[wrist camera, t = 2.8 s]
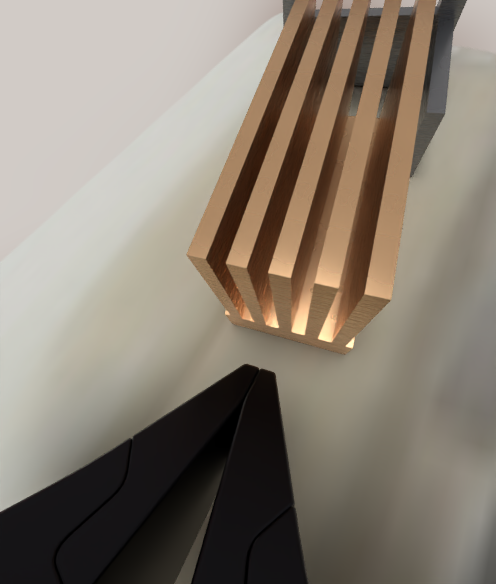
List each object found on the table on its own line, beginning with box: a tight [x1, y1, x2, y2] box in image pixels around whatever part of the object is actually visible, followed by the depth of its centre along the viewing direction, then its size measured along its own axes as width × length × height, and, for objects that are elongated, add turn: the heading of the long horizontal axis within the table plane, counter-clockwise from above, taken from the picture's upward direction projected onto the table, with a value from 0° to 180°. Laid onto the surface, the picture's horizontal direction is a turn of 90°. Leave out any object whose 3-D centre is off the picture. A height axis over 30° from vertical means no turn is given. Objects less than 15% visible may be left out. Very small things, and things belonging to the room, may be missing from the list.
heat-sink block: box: [187, 0, 436, 355], centre depth 13 cm, size 14×6×8 cm, turn 162°
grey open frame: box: [283, 0, 467, 177], centre depth 14 cm, size 9×10×10 cm
